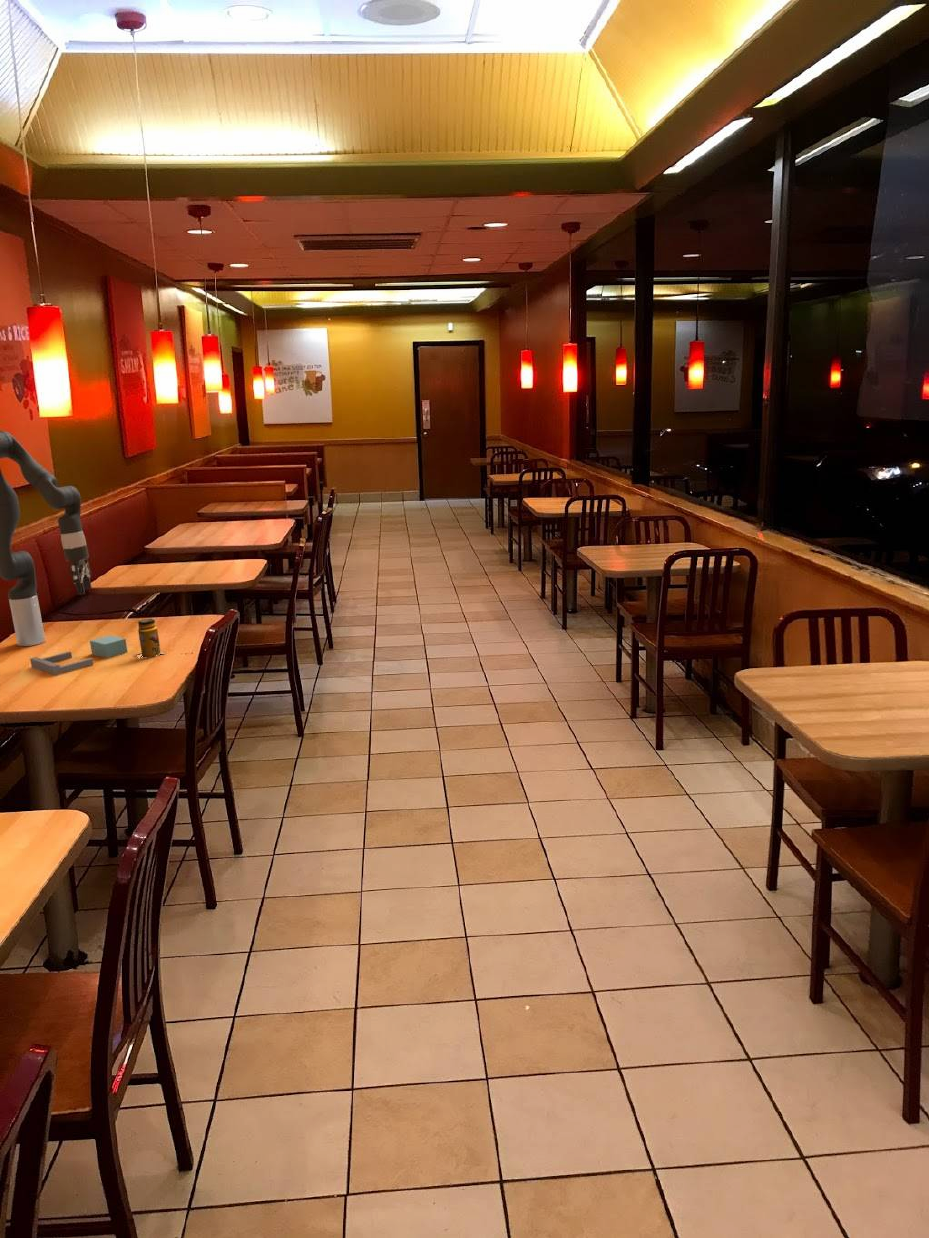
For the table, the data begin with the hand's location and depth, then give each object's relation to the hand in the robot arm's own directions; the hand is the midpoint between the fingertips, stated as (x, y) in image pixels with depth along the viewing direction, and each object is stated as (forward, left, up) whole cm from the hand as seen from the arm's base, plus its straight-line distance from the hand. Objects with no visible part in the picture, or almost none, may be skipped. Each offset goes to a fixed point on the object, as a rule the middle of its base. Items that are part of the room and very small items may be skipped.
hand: (85, 592), depth 318 cm
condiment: (+27, +5, -20) cm, 34 cm away
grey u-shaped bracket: (+12, -17, -20) cm, 29 cm away
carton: (+12, -1, -20) cm, 23 cm away
